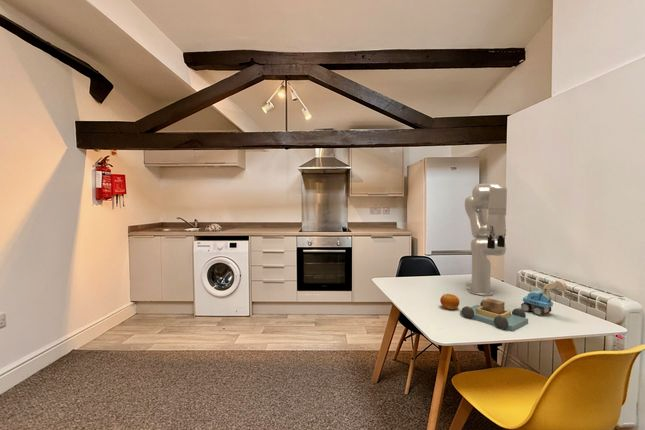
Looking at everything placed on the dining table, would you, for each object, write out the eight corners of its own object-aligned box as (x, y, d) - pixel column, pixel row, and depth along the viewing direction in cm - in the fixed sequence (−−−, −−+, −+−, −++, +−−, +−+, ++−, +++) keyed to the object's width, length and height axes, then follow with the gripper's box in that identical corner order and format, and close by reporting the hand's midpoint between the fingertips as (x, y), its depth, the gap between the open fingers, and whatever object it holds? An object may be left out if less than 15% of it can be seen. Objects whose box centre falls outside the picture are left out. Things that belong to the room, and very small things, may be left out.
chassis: (458, 315, 138) (458, 304, 138) (478, 308, 148) (478, 298, 148) (510, 332, 120) (511, 319, 120) (529, 322, 130) (529, 311, 130)
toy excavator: (558, 322, 131) (559, 282, 131) (518, 310, 146) (519, 274, 146) (568, 318, 135) (569, 280, 135) (528, 307, 150) (529, 273, 149)
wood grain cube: (482, 313, 135) (482, 299, 135) (487, 311, 138) (488, 298, 138) (498, 318, 130) (499, 304, 129) (504, 315, 133) (504, 302, 132)
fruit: (463, 300, 149) (454, 287, 148) (462, 311, 142) (452, 297, 141) (447, 304, 154) (438, 292, 153) (445, 315, 147) (436, 302, 146)
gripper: (497, 211, 153) (496, 245, 154) (479, 212, 143) (478, 248, 144) (513, 212, 147) (512, 247, 148) (496, 212, 137) (495, 250, 138)
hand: (496, 247), depth 146 cm, fingers open, 9 cm apart
